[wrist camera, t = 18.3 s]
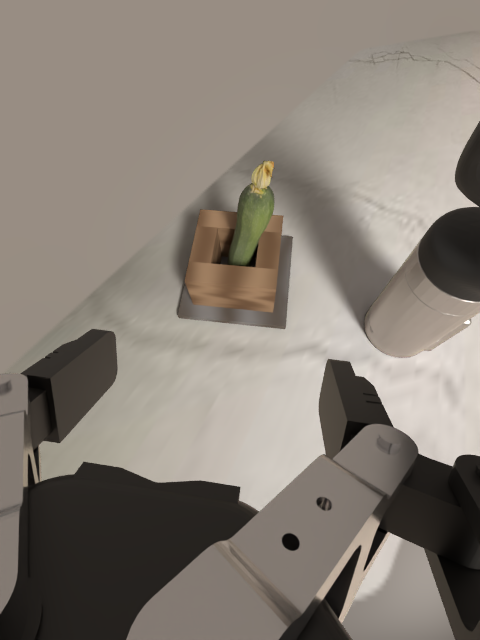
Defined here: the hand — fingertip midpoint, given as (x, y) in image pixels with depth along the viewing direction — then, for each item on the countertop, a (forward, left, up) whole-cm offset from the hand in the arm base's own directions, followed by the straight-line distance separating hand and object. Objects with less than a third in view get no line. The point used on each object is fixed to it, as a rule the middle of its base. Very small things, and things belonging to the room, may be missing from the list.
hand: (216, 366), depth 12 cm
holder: (+4, -24, -33) cm, 41 cm away
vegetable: (+4, -23, -32) cm, 40 cm away
